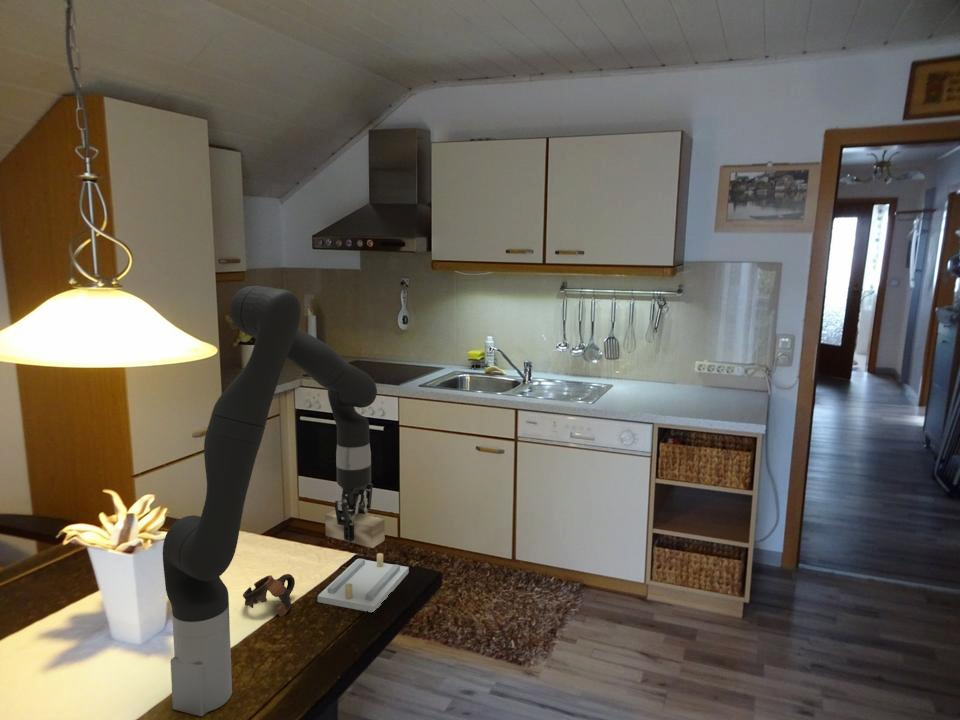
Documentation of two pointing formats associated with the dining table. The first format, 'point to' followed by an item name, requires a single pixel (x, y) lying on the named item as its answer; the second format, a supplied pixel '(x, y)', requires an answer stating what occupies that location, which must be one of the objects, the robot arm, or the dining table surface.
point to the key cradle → (364, 584)
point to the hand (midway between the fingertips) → (355, 534)
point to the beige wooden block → (358, 529)
